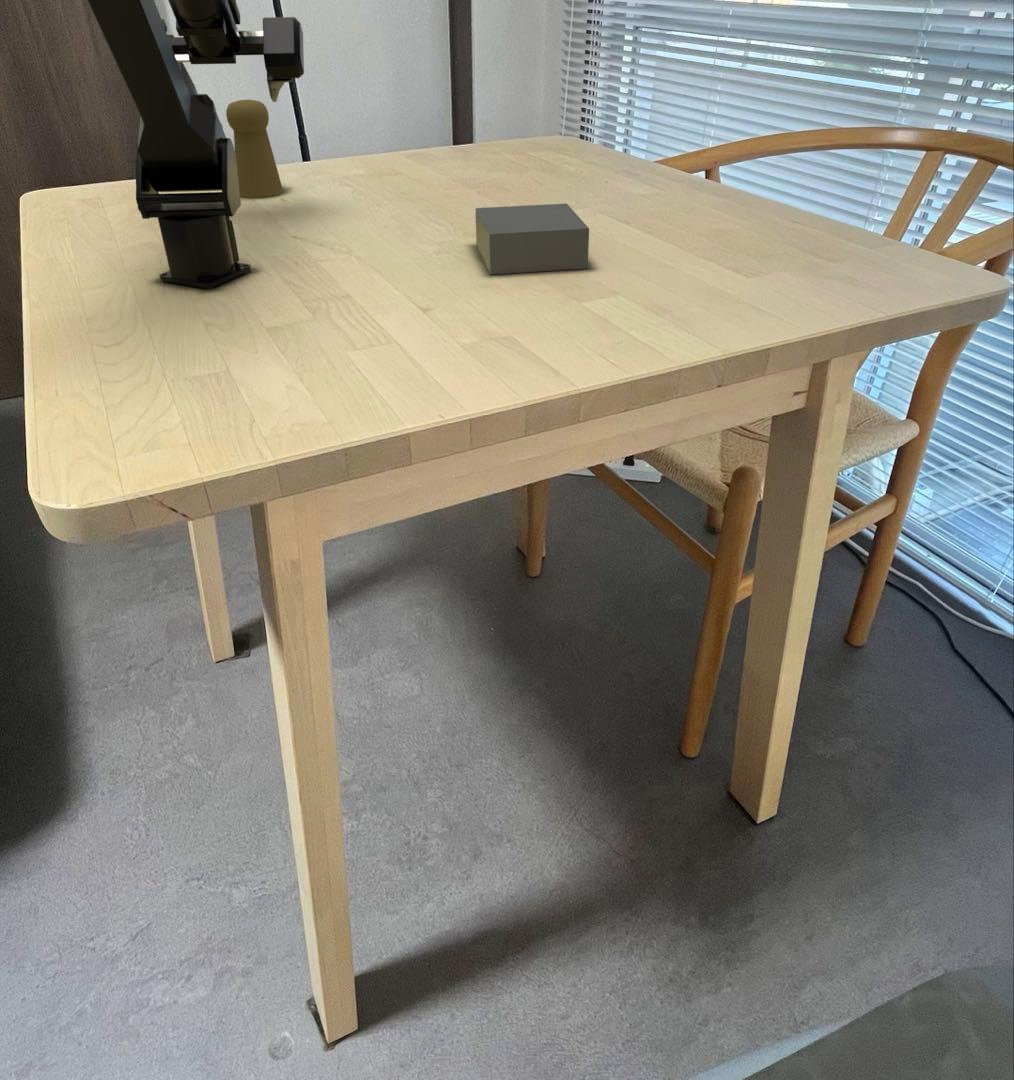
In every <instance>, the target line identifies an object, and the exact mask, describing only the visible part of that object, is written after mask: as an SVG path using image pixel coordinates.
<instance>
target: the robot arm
mask: <svg viewBox="0 0 1014 1080" xmlns="http://www.w3.org/2000/svg"><path fill="white" fill-rule="evenodd" d="M167 1H168V4H169V6H170V8H171V11H172V14H173V16H174V18H175V31H176V32H177V35H178V36H176V37H175V35H174V34H168V33H167V32H168V25H167V23H166V21H165V19H164V18H162V17H161V14H160V12H159V10H158V9H159V8H158V7H157V4H156V1H155V0H86V2H87V3H88V6H89V9H90V10H91V13H92V15H93V17H94V20H95V21H96V23H97V26H98V28H99V31H100V33H101V34H102V36H103V39H104V41H105V43H106V45H107V48H108V50H109V52H110V54H111V56H112V59H113V61H114V62H115V65H116V68H117V70H118V72H119V73H120V76H121V78H122V80H123V82H124V84H125V87H126V89H127V91H128V93H129V95H130V98H131V100H132V102H133V104H134V106H135V108H136V110H137V113H138V115H139V126H138V127H139V128H138V138H137V139H138V141H137V144H136V155H135V157H134V169H135V170H134V171H135V174H134V175H135V201H136V205H137V209H138V211H139V212H140V215H141V217H142V219H143V220H149V219H152V218H153V219H157V221H158V225H159V230H160V234H161V239H162V243H163V247H164V251H165V255H166V260H167V265H168V269H169V270H168V271H165V272H163V273H160V274H159V276H158V277H159V280H160V281H163V282H169V283H176V284H180V285H187V286H191V287H197V288H202V289H203V288H204V289H212V288H215V287H216V286H218V285H221V284H223V283H225V282H228V281H229V280H232V279H234V278H237V277H239V276H241V275H244V274H245V273H248V272H250V271H251V270H252V266H251V265H250V264H248V263H243V262H242V263H241V262H239V261H240V256H239V250H238V244H237V240H236V235H235V228H234V223H233V220H231V218H230V217H234V216H235V214H236V213H237V211H238V210H239V208H240V206H241V205H242V201H241V196H240V191H239V181H238V172H237V163H236V155H235V146H234V143H233V140H232V139H231V138H230V137H227V136H226V134H225V131H224V129H223V128H224V127H223V124H222V122H221V120H220V118H219V115H218V113H217V109H216V105H215V103H214V100H212V98H211V97H210V96H209V95H208V94H207V93H198V90H197V87H196V85H195V84H194V81H193V79H192V77H191V76H190V74H189V71H188V70H187V68H186V66H185V63H190V65H232V64H235V65H236V64H237V56H263V60H264V67H265V71H266V81H267V87H268V92H269V97H270V100H271V101H272V102H273V103H277V101H278V98H279V94H280V91H281V89H282V88H283V86H284V85H285V83H291V82H292V81H293V80H294V79H300V78H301V77H302V76H303V75H304V74H305V58H304V57H305V56H304V31H303V28H302V24H301V22H300V21H299V20H298V18H297V17H296V16H275V17H274V16H272V17H269V16H267V17H262V30H239V29H238V27H237V25H238V26H239V25H241V13H240V10H239V7H238V4H237V0H167Z"/></svg>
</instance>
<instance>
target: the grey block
mask: <svg viewBox="0 0 1014 1080" xmlns="http://www.w3.org/2000/svg"><path fill="white" fill-rule="evenodd" d="M475 237H476V238H475V241H476V242H475V243H476V244H475V245H476V248H477V250H478V252H479V254H480V256H481V258H482V261H483V263H484V264H485V266H486V268H487V271H488V272H489V274H490V275H507V274H522V273H523V274H524V273H538V272H554V271H573V270H587V269H588V265H589V248H590V247H589V246H590V228H589V226H588V225H587V224H586V223H585V222H584V221H583V220H582V219H581V218H580V216H579V215H578V214H577V213H576V212H575V211H574V210H573V208H572V207H571V206H570V205H569V204H568V203H549V204H529V205H527V204H526V205H509V206H492V207H491V206H490V207H489V206H488V207H476V208H475Z"/></svg>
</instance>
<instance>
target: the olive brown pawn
mask: <svg viewBox="0 0 1014 1080" xmlns="http://www.w3.org/2000/svg"><path fill="white" fill-rule="evenodd" d="M225 116H226V121H227V123H228V125H229V127H230V128H231V129H232V130H233V142H234V143H233V146H234V150H235V155H236V163H237V172H238V181H239V191H240V198H241V197H242V198H246V199H247V198H248V199H262V198H269V197H274V196H278V195H280V194H282V193H283V192H284V189H283V185H282V181H281V178H280V174H279V170H278V166H277V163H276V160H275V156H274V152H273V149H272V145H271V142H270V138H269V135H268V131H267V127H268V125H269V121H270V119H269V118H270V117H269V110H268V108H267V106H266V105H265V104H264V103H263V102H262V101H259V100H255V99H240V100H235V101H232V102H230V103H229V104H228V105H227V108H226V114H225Z"/></svg>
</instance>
